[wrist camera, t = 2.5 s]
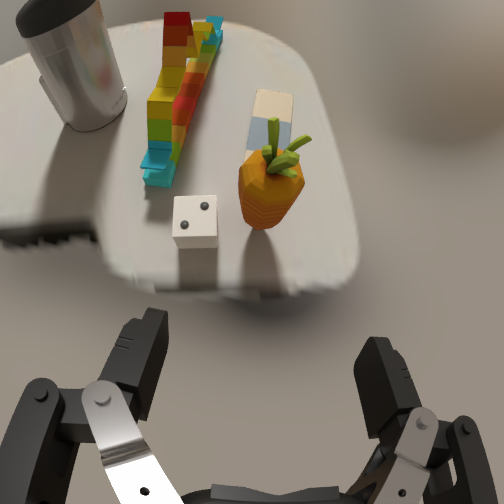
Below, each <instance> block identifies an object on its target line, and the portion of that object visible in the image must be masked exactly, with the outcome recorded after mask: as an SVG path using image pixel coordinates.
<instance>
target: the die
mask: <svg viewBox="0 0 504 504" xmlns="http://www.w3.org/2000/svg"><path fill="white" fill-rule="evenodd" d="M172 237H173V239H174V241H175V243H176V245H177V247H178V249H190V248H218V237H217V195H198V196H174V209H173V231H172Z"/></svg>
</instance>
